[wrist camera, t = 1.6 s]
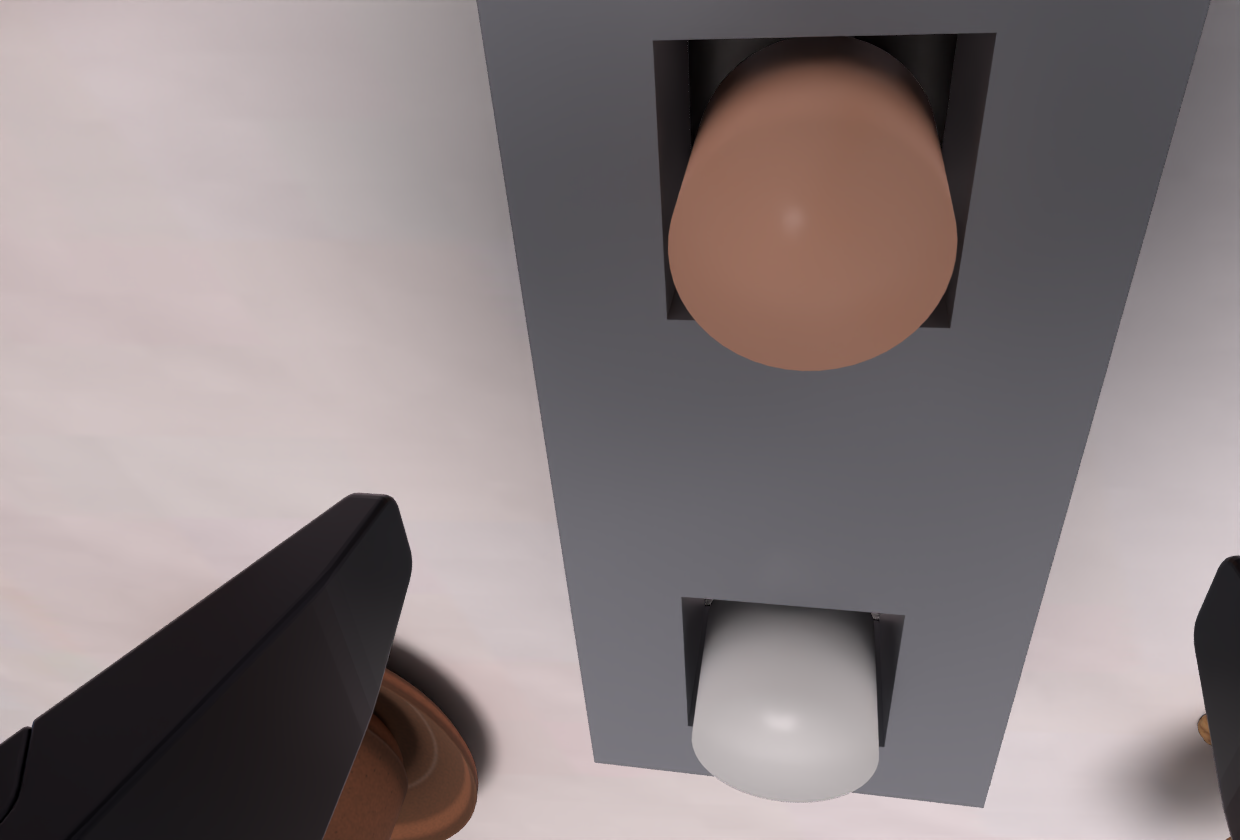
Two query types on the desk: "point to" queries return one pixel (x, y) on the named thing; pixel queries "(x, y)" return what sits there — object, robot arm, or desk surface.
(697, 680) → the plug block
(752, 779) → the grey piece
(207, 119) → the desk surface
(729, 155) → the terracotta plug
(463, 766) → the cup and saucer
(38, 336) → the desk surface
